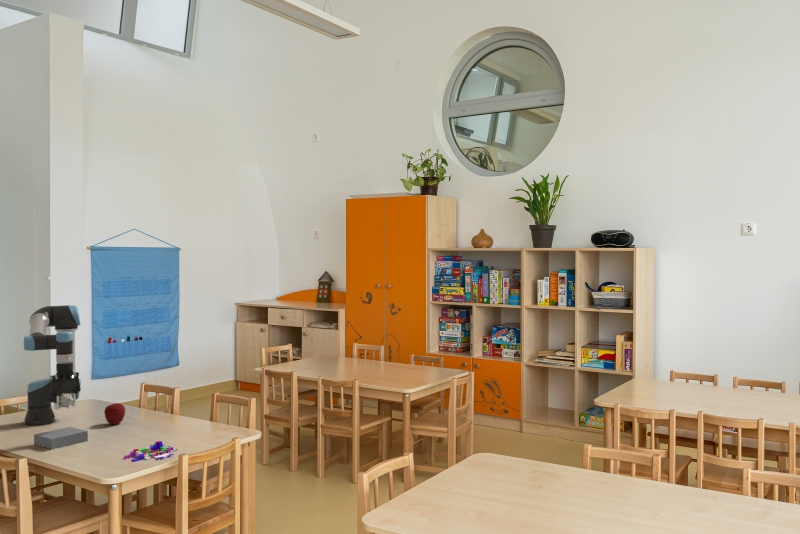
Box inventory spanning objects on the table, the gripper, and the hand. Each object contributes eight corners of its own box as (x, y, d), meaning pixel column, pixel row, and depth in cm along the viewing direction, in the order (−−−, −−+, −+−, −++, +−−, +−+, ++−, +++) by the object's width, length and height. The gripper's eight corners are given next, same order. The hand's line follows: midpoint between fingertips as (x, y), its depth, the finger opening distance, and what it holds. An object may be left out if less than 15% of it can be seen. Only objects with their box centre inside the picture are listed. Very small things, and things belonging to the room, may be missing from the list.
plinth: (34, 444, 319) (33, 434, 319) (69, 436, 334) (69, 426, 334) (51, 449, 310) (51, 439, 310) (87, 440, 325) (87, 430, 325)
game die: (69, 414, 330) (82, 397, 332) (59, 412, 322) (73, 395, 325) (56, 405, 332) (70, 388, 335) (47, 402, 324) (60, 385, 327)
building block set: (143, 465, 286) (143, 455, 286) (118, 457, 298) (117, 448, 298) (192, 452, 306) (191, 442, 306) (166, 445, 319) (166, 436, 319)
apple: (109, 421, 365) (109, 400, 365) (128, 421, 365) (128, 400, 365) (100, 426, 354) (100, 405, 354) (120, 426, 354) (120, 404, 354)
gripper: (48, 365, 318) (48, 412, 317) (88, 360, 335) (88, 404, 335) (39, 364, 322) (40, 410, 322) (80, 359, 339) (80, 403, 339)
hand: (65, 407), depth 328 cm, fingers closed on game die, 8 cm apart
